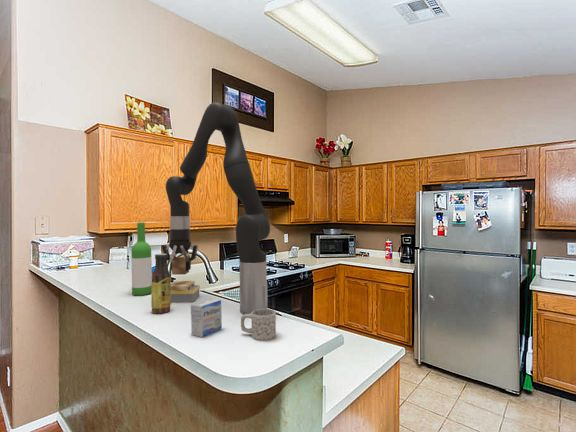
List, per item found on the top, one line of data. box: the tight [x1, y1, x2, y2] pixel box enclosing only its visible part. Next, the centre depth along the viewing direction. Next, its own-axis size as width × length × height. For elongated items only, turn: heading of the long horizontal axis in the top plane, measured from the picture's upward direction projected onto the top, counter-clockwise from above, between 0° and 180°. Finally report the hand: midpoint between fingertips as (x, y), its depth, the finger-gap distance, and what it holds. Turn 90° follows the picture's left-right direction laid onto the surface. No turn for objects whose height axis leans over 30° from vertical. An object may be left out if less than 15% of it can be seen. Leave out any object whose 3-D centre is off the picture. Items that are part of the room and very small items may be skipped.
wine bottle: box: [131, 222, 153, 297], centre depth 143 cm, size 8×8×30 cm
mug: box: [240, 308, 277, 342], centre depth 95 cm, size 10×7×7 cm
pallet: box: [171, 280, 195, 291], centre depth 134 cm, size 8×10×2 cm
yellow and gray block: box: [171, 284, 201, 303], centre depth 134 cm, size 12×9×4 cm
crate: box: [171, 256, 190, 276], centre depth 134 cm, size 5×5×6 cm
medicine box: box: [190, 298, 223, 338], centre depth 98 cm, size 8×4×9 cm, turn 148°
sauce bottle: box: [150, 253, 172, 314], centre depth 118 cm, size 7×6×20 cm
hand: (180, 270), depth 134 cm, fingers closed on crate, 5 cm apart
